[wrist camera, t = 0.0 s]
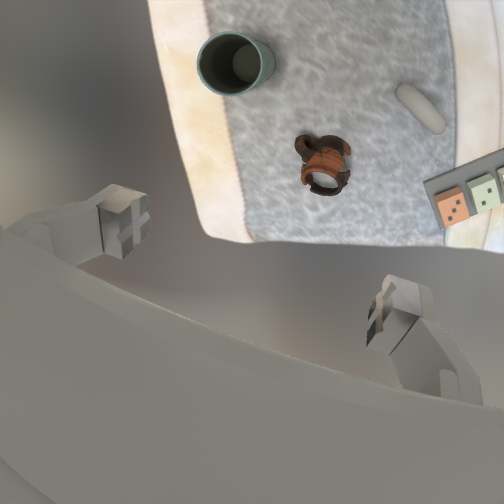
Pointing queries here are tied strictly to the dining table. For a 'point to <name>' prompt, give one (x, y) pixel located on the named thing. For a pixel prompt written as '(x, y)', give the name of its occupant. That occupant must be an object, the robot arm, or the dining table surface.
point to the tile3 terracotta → (452, 206)
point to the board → (465, 180)
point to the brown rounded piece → (323, 161)
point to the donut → (421, 108)
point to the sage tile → (484, 193)
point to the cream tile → (501, 178)
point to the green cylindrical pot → (234, 63)
